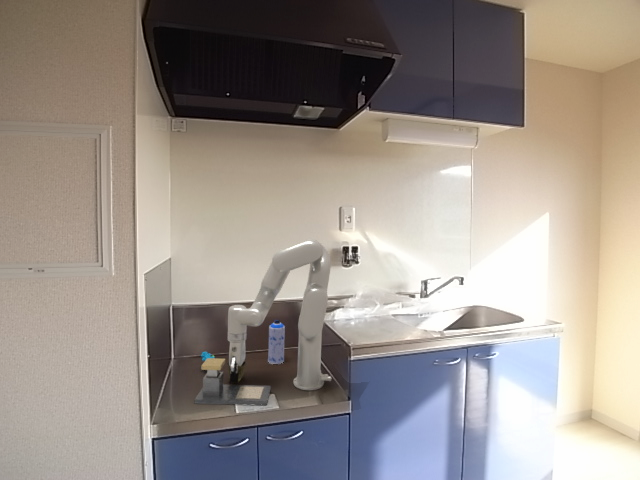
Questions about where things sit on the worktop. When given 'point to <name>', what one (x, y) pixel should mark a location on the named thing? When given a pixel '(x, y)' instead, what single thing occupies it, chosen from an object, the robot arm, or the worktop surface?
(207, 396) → the base
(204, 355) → the gear
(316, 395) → the worktop surface
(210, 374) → the plate
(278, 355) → the aerosol can
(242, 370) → the dark brown rounded piece
